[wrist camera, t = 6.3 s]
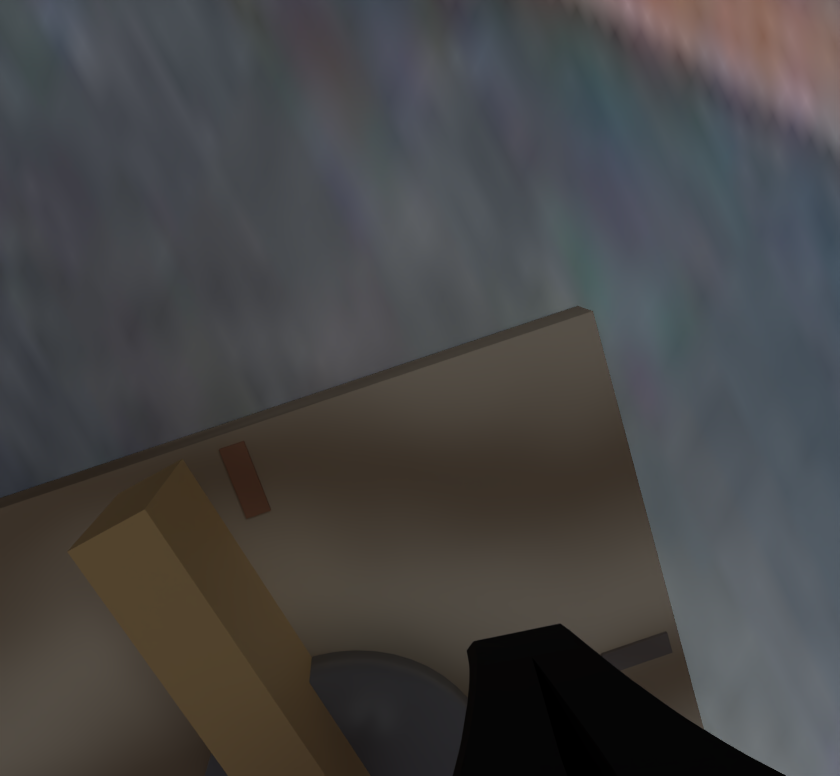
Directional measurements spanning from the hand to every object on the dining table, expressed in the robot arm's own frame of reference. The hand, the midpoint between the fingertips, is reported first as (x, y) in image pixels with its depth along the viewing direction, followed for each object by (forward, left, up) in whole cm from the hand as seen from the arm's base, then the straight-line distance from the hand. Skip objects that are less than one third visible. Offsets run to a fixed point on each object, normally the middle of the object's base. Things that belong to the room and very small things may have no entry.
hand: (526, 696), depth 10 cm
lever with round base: (-3, +5, -7) cm, 9 cm away
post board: (-6, +4, -9) cm, 12 cm away
